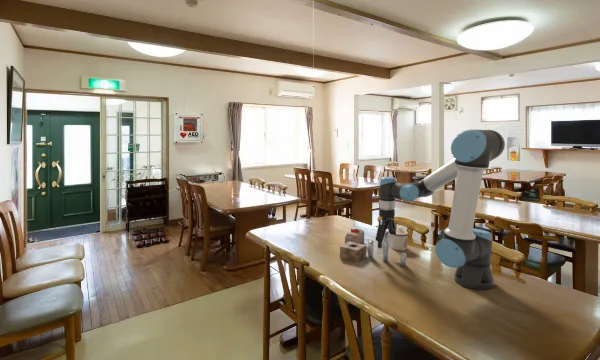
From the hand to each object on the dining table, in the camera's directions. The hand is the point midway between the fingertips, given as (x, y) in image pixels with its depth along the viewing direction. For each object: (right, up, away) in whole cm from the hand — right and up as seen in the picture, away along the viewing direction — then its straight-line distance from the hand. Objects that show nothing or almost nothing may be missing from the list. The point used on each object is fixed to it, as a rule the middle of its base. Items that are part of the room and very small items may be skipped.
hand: (385, 250), depth 168 cm
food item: (-11, -3, +25) cm, 28 cm away
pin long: (0, -6, +1) cm, 6 cm away
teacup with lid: (+13, -3, +22) cm, 26 cm away
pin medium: (-6, -5, +5) cm, 10 cm away
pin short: (+7, -6, -5) cm, 11 cm away
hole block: (-15, -5, +7) cm, 17 cm away
